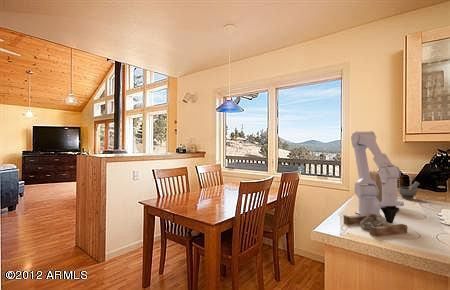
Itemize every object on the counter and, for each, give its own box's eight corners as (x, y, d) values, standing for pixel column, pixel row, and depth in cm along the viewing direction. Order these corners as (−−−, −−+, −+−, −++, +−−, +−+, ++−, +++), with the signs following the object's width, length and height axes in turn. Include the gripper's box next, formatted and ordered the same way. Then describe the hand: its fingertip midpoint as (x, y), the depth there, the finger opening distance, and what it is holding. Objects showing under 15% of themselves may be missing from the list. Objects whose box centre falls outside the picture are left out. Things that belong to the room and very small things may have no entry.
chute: (372, 219, 112) (372, 212, 112) (407, 232, 95) (407, 224, 95) (343, 223, 108) (343, 215, 108) (374, 236, 91) (374, 228, 91)
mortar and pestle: (398, 198, 152) (398, 181, 152) (398, 196, 160) (398, 179, 160) (420, 201, 145) (420, 182, 145) (419, 198, 153) (419, 180, 153)
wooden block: (384, 203, 142) (384, 171, 141) (395, 207, 132) (395, 173, 132) (368, 203, 143) (367, 171, 142) (377, 207, 133) (376, 173, 133)
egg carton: (368, 223, 108) (368, 214, 108) (386, 228, 102) (386, 219, 102) (357, 228, 102) (357, 219, 102) (376, 233, 95) (376, 223, 95)
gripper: (384, 195, 98) (384, 227, 98) (410, 193, 101) (411, 224, 101) (370, 192, 105) (370, 221, 105) (395, 190, 108) (395, 219, 108)
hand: (389, 222), depth 104 cm, fingers closed
